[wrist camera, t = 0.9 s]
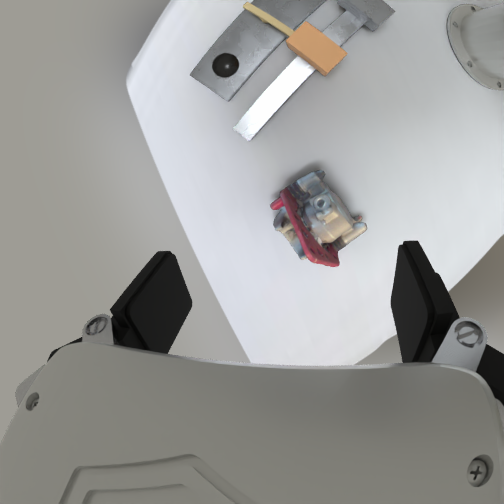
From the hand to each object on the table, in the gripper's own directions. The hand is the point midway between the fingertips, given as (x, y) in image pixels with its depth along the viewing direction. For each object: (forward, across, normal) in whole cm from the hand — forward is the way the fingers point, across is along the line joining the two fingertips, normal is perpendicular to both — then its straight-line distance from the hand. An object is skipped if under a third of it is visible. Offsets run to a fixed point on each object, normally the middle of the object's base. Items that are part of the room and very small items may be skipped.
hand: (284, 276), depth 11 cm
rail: (+25, -2, -11) cm, 27 cm away
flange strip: (+25, +1, -17) cm, 30 cm away
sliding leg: (+23, -1, -14) cm, 27 cm away
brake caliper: (+25, 0, +8) cm, 26 cm away
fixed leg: (+23, -7, -20) cm, 32 cm away
